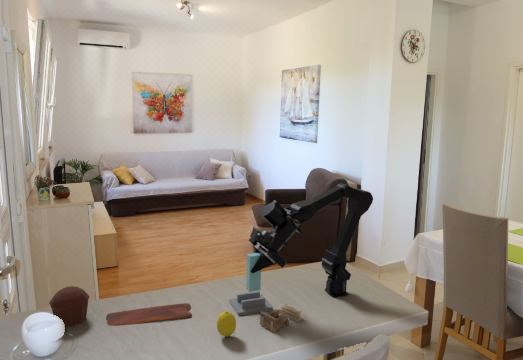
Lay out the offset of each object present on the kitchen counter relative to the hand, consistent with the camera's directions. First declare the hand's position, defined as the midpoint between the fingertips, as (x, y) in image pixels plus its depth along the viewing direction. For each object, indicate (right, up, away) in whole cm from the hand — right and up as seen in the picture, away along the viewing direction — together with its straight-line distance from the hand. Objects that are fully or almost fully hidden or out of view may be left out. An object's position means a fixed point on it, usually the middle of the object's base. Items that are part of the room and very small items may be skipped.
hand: (249, 271), depth 137 cm
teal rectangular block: (+1, -6, +2) cm, 7 cm away
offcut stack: (+13, -15, -1) cm, 20 cm away
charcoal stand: (0, -13, +5) cm, 14 cm away
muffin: (-55, -14, -6) cm, 58 cm away
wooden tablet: (-32, -14, -2) cm, 35 cm away
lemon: (-6, -16, -14) cm, 23 cm away
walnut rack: (+8, -15, -7) cm, 18 cm away
